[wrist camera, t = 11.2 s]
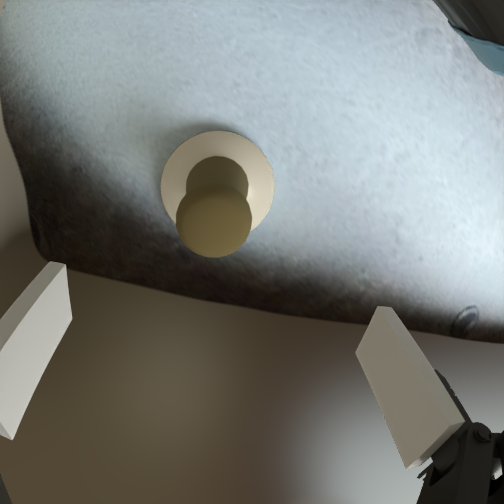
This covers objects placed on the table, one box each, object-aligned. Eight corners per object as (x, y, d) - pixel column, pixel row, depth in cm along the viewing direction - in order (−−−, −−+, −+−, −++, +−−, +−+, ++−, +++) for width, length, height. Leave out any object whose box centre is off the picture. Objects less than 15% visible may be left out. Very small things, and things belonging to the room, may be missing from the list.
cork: (261, 189, 30) (279, 232, 20) (214, 228, 32) (210, 287, 22) (220, 142, 28) (217, 161, 18) (172, 184, 29) (146, 225, 20)
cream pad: (170, 123, 28) (167, 124, 27) (282, 140, 30) (284, 142, 29) (159, 228, 33) (156, 233, 31) (261, 242, 34) (262, 248, 33)
